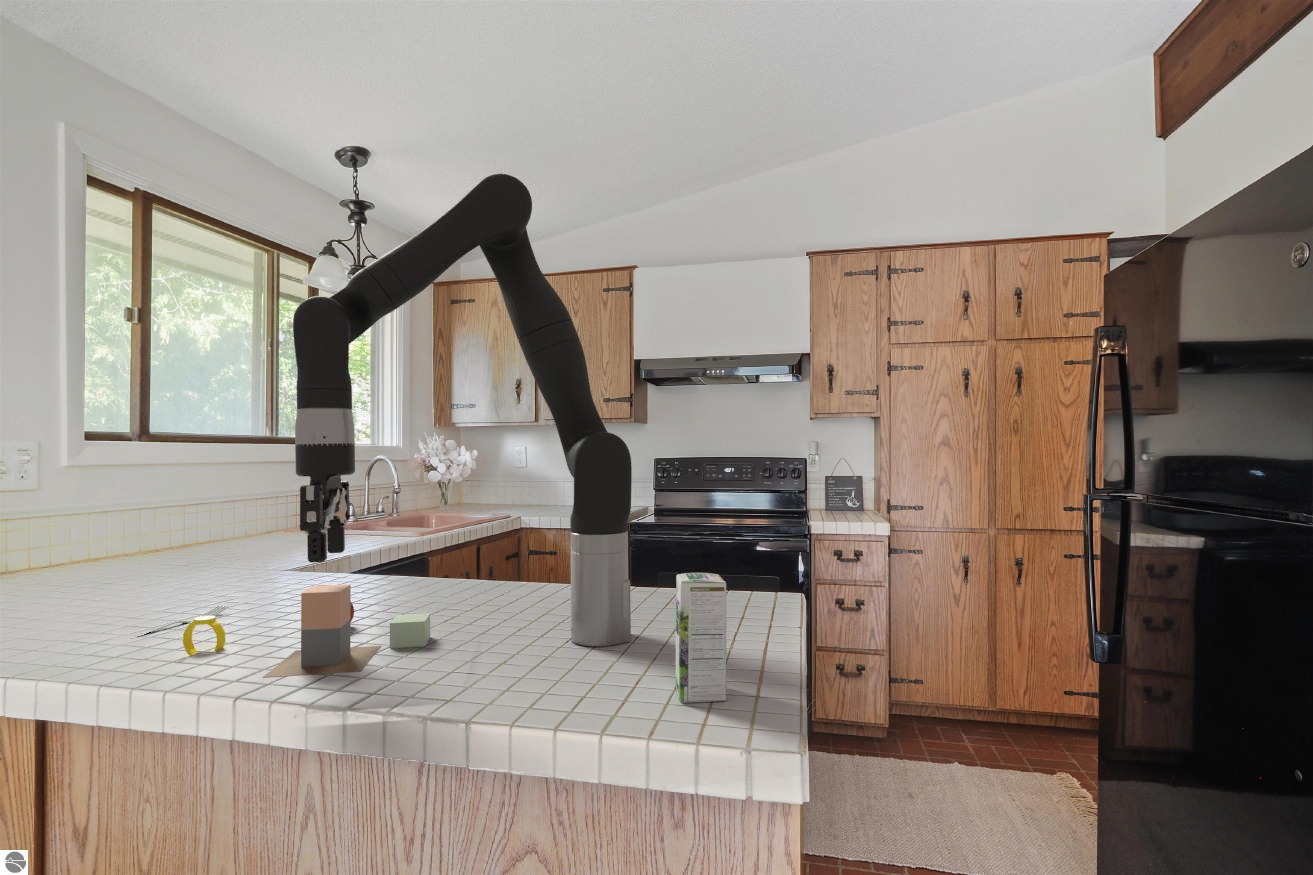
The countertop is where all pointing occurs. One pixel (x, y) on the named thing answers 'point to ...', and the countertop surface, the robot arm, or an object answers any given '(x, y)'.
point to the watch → (199, 621)
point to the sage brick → (410, 630)
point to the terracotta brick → (325, 607)
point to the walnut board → (350, 664)
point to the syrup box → (700, 637)
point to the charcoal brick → (325, 646)
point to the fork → (189, 622)
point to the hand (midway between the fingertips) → (327, 557)
